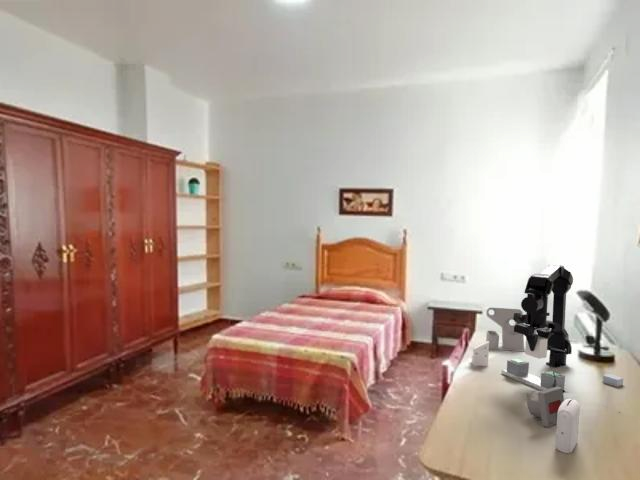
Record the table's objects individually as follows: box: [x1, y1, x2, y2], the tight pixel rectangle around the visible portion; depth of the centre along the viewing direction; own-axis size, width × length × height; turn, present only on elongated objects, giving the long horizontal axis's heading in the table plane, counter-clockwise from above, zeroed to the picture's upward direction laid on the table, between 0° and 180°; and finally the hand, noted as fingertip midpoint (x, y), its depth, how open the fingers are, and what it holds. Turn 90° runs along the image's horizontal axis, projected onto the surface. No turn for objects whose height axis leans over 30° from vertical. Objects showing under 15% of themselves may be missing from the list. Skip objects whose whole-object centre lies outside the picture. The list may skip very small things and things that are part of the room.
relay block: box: [602, 373, 624, 388], centre depth 166 cm, size 5×4×4 cm
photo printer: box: [555, 398, 580, 454], centre depth 122 cm, size 10×4×12 cm, turn 140°
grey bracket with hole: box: [485, 307, 526, 353], centre depth 212 cm, size 17×10×18 cm, turn 79°
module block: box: [524, 336, 548, 360], centre depth 166 cm, size 4×6×7 cm, turn 26°
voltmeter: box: [526, 370, 565, 427], centre depth 144 cm, size 27×11×10 cm, turn 156°
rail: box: [501, 358, 566, 393], centre depth 168 cm, size 7×22×6 cm, turn 26°
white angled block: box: [471, 341, 490, 367], centre depth 187 cm, size 4×10×9 cm, turn 84°
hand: (536, 350), depth 167 cm, fingers closed on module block, 4 cm apart
